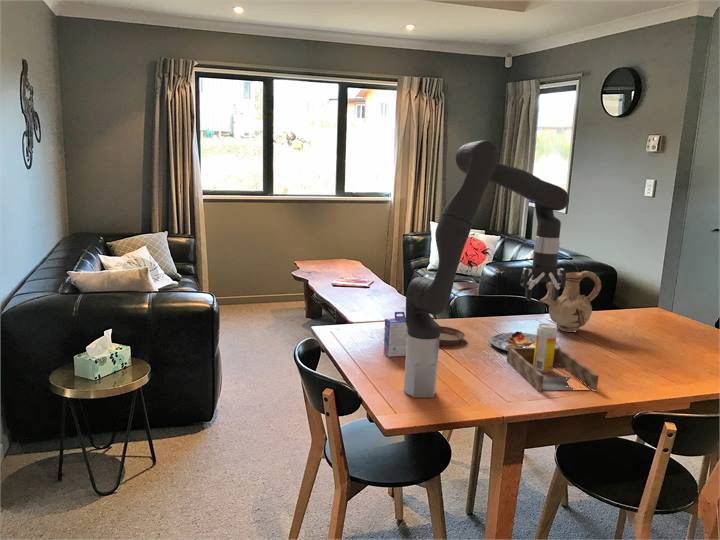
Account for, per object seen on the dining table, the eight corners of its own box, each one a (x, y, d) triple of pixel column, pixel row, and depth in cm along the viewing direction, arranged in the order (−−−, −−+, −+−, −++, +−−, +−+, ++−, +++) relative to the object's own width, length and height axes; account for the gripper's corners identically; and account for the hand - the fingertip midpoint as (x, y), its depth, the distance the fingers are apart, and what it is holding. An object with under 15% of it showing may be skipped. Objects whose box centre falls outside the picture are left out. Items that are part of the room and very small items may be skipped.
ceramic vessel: (560, 321, 250) (567, 264, 245) (602, 332, 236) (610, 272, 231) (535, 327, 239) (542, 268, 234) (578, 340, 224) (586, 277, 219)
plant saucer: (450, 331, 228) (451, 324, 228) (473, 346, 212) (473, 338, 211) (409, 334, 223) (409, 326, 222) (429, 349, 206) (429, 341, 206)
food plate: (514, 333, 229) (515, 324, 228) (570, 349, 213) (571, 340, 212) (477, 347, 212) (478, 338, 211) (535, 366, 196) (536, 356, 195)
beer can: (554, 369, 192) (559, 325, 189) (549, 374, 186) (554, 329, 184) (535, 365, 195) (540, 322, 192) (530, 370, 190) (535, 326, 187)
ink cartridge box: (408, 350, 203) (411, 310, 201) (415, 355, 198) (418, 314, 195) (382, 352, 200) (384, 311, 197) (388, 357, 195) (390, 315, 192)
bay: (596, 391, 175) (598, 375, 174) (538, 391, 172) (540, 375, 171) (558, 361, 199) (560, 347, 198) (506, 361, 197) (508, 347, 196)
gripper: (530, 252, 180) (525, 303, 183) (573, 253, 182) (567, 303, 185) (520, 248, 187) (515, 297, 190) (561, 248, 189) (556, 297, 192)
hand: (541, 300), depth 188 cm, fingers open, 8 cm apart
